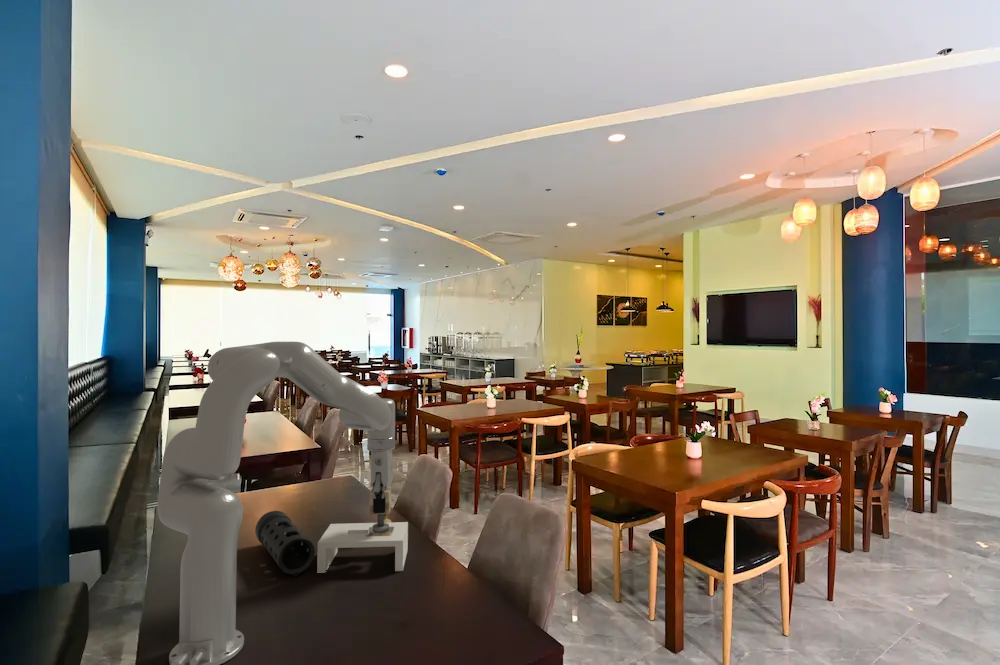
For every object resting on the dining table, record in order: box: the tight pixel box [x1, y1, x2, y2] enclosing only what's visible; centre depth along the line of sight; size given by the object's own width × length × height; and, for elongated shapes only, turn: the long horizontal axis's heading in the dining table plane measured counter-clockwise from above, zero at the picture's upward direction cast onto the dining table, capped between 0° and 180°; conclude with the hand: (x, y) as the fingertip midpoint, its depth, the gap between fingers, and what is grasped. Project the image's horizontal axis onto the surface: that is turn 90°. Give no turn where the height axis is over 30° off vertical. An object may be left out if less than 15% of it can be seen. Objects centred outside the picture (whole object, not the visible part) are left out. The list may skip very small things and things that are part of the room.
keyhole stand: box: [316, 521, 409, 574], centre depth 141 cm, size 14×22×8 cm, turn 95°
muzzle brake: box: [254, 510, 316, 577], centre depth 142 cm, size 10×28×10 cm, turn 37°
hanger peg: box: [369, 486, 392, 533], centre depth 142 cm, size 5×5×11 cm
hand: (380, 508), depth 142 cm, fingers closed on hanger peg, 5 cm apart
